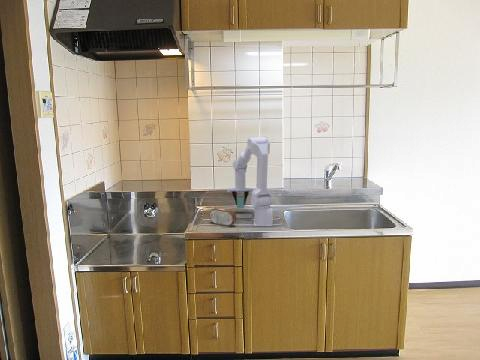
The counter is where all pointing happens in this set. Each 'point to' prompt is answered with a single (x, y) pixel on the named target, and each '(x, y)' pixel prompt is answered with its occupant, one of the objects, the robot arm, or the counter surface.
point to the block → (240, 201)
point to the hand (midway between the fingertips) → (240, 204)
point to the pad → (243, 216)
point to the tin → (222, 216)
